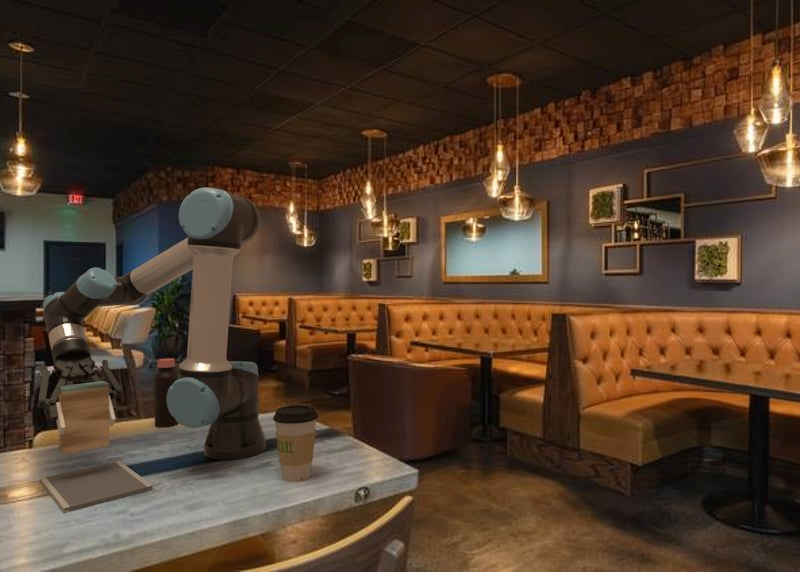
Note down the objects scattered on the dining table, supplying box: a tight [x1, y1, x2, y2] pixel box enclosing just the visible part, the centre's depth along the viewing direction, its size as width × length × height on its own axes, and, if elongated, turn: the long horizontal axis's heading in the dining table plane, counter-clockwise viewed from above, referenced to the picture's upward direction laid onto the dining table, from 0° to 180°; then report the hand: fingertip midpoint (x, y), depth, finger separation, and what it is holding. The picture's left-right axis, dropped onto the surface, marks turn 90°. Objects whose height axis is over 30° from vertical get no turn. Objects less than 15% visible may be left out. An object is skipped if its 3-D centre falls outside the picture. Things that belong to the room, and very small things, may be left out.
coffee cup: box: [272, 404, 319, 483], centre depth 118 cm, size 10×10×15 cm
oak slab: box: [57, 380, 110, 455], centre depth 118 cm, size 4×9×14 cm, turn 134°
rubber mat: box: [39, 460, 153, 514], centre depth 114 cm, size 22×16×1 cm
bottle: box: [153, 357, 179, 428], centre depth 163 cm, size 7×7×20 cm
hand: (88, 426), depth 116 cm, fingers closed on oak slab, 9 cm apart
